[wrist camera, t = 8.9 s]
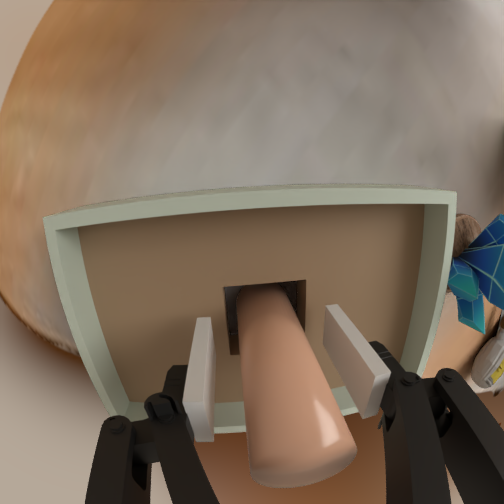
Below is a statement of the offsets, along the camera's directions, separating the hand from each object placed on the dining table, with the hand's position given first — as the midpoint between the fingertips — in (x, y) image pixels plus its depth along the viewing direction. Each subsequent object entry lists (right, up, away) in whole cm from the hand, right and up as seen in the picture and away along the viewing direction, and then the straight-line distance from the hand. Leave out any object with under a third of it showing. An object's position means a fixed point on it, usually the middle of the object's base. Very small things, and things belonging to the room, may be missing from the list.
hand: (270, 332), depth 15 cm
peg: (0, +1, +4) cm, 4 cm away
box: (0, +1, +4) cm, 4 cm away
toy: (+33, -6, +9) cm, 34 cm away
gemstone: (+17, +4, +5) cm, 19 cm away
